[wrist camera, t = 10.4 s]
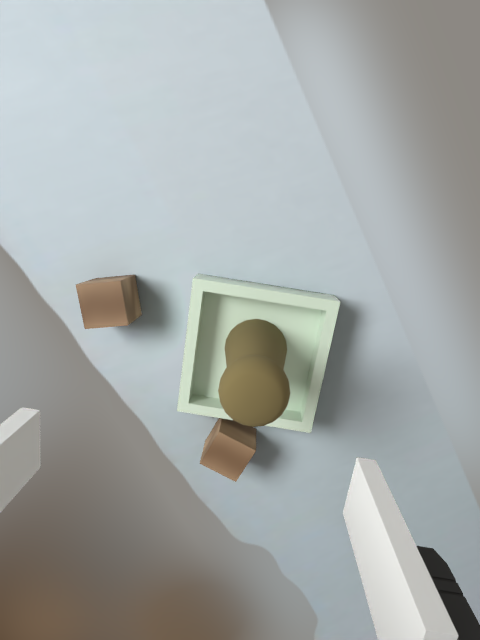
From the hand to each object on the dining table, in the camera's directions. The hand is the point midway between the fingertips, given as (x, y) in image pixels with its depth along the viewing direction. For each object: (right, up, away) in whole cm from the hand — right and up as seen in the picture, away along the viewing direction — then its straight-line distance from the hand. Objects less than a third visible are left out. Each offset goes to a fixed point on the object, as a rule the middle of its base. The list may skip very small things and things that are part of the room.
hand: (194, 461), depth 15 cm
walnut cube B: (+1, -6, +25) cm, 25 cm away
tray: (+3, +3, +22) cm, 22 cm away
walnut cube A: (-10, +8, +21) cm, 25 cm away
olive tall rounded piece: (+3, +3, +21) cm, 21 cm away
